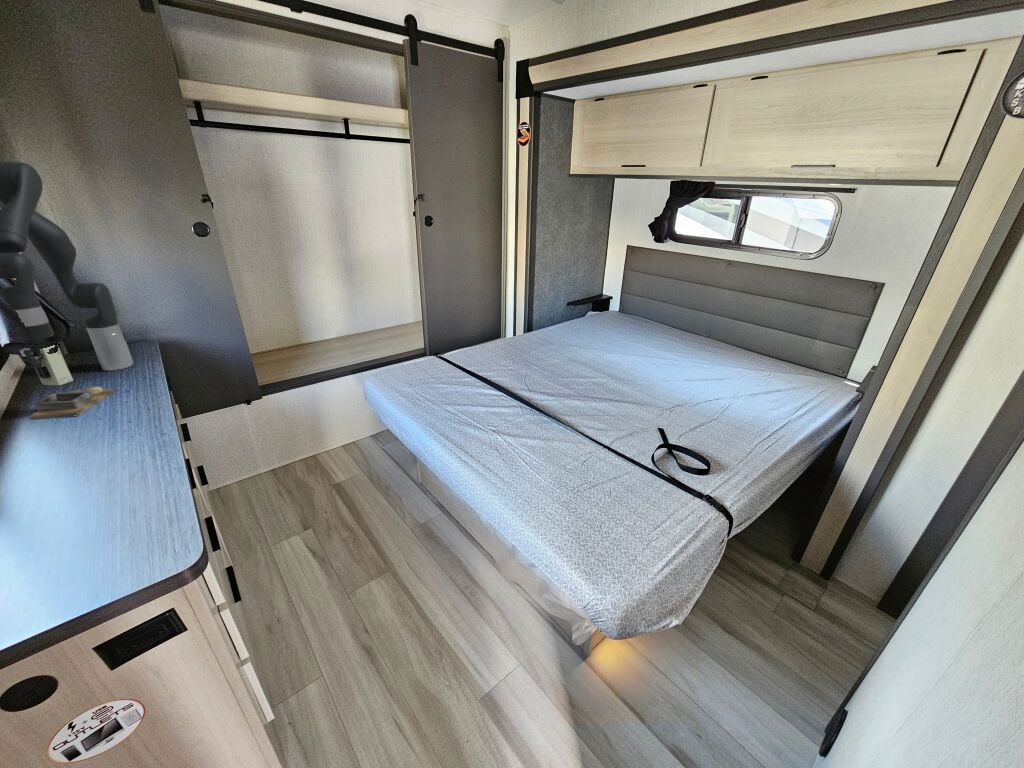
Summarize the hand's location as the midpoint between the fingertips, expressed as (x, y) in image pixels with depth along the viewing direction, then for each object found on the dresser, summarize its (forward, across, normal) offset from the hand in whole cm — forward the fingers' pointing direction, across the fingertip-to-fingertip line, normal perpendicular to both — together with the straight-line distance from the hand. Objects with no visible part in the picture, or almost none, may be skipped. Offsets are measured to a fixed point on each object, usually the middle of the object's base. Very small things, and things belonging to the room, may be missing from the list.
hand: (53, 374), depth 131 cm
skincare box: (+3, 0, 0) cm, 3 cm away
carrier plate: (+12, -2, +1) cm, 12 cm away
